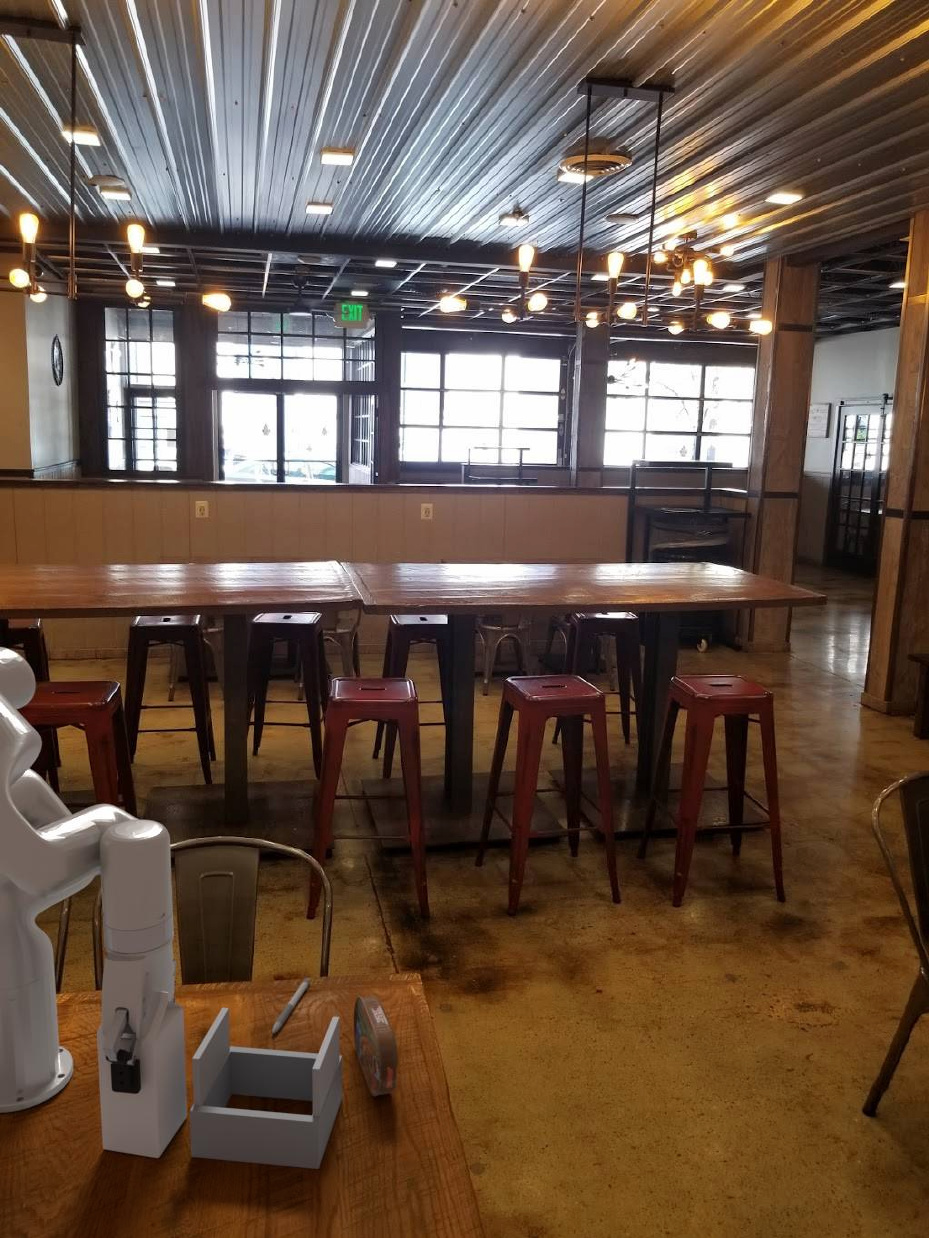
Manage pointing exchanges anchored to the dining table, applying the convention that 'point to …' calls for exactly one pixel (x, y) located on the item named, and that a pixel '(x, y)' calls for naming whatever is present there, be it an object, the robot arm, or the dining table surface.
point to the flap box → (263, 1076)
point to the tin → (375, 1045)
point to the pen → (290, 1005)
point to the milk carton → (147, 1088)
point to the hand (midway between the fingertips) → (145, 1063)
